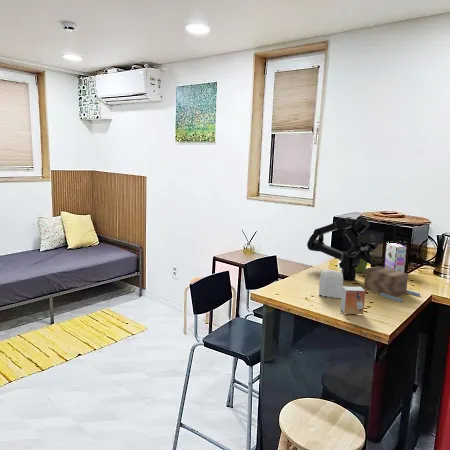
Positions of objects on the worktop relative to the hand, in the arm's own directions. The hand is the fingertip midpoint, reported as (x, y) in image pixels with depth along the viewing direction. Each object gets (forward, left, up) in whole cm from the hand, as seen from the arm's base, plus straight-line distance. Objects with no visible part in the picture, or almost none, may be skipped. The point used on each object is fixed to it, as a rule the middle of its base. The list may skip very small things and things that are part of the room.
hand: (371, 263), depth 192 cm
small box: (-20, -36, -12) cm, 43 cm away
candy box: (+22, +25, -12) cm, 36 cm away
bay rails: (+9, -13, -11) cm, 19 cm away
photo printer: (-24, -17, -12) cm, 31 cm away
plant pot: (+3, +27, -12) cm, 30 cm away
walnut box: (+5, -7, -12) cm, 14 cm away
